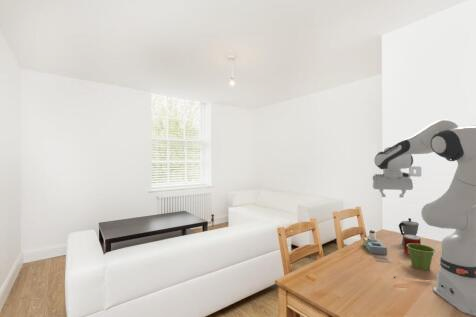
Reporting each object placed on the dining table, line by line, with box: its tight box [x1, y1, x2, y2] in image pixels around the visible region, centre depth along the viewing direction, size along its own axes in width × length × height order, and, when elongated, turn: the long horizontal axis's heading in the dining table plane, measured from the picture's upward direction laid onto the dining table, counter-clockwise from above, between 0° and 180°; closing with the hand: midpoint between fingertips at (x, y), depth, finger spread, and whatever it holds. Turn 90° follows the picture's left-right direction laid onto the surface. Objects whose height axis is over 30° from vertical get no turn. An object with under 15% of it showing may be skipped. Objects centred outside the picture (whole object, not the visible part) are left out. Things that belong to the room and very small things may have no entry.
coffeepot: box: [398, 217, 420, 246], centre depth 153 cm, size 15×9×18 cm, turn 103°
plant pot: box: [407, 243, 436, 271], centre depth 121 cm, size 12×12×11 cm
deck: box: [370, 253, 391, 264], centre depth 131 cm, size 10×7×1 cm
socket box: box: [362, 237, 388, 255], centre depth 145 cm, size 16×9×5 cm, turn 165°
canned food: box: [403, 235, 422, 256], centre depth 138 cm, size 8×8×11 cm
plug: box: [368, 229, 377, 242], centre depth 149 cm, size 4×4×10 cm
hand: (392, 197), depth 137 cm, fingers open, 8 cm apart
